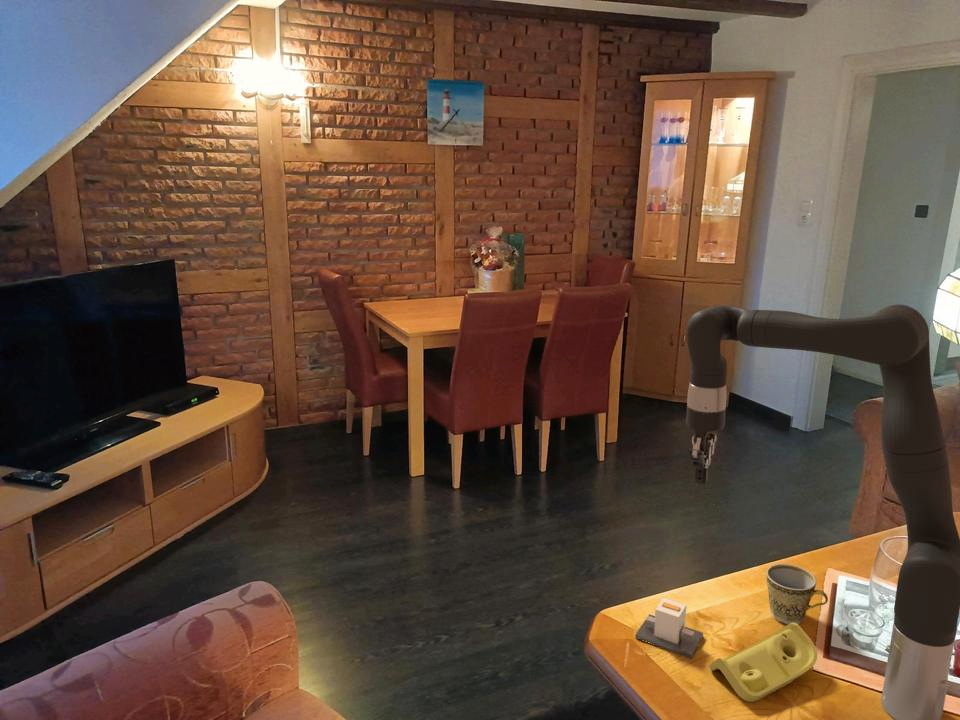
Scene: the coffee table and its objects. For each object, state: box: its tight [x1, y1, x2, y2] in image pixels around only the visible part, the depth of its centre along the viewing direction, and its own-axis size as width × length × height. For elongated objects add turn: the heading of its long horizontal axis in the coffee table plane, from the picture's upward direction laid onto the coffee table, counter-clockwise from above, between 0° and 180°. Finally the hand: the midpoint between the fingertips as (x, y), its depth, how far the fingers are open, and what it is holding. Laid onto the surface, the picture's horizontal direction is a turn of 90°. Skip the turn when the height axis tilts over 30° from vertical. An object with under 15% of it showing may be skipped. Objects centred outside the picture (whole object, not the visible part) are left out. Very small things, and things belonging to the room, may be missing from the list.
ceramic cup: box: [766, 563, 829, 625], centre depth 152 cm, size 13×10×10 cm
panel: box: [635, 614, 704, 659], centre depth 148 cm, size 12×8×3 cm, turn 56°
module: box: [654, 597, 687, 644], centre depth 147 cm, size 5×5×7 cm
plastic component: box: [708, 623, 818, 703], centre depth 137 cm, size 20×7×10 cm
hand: (701, 481), depth 146 cm, fingers closed
